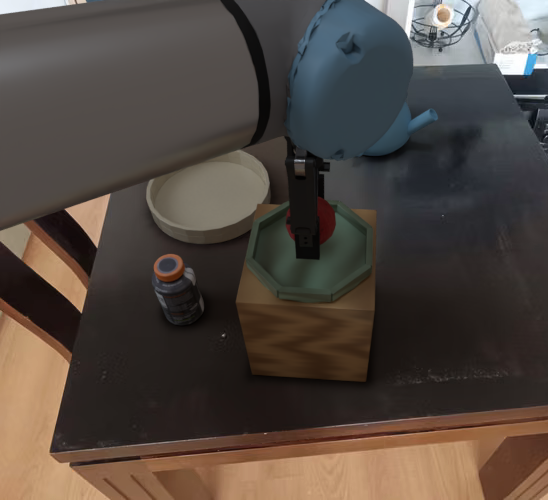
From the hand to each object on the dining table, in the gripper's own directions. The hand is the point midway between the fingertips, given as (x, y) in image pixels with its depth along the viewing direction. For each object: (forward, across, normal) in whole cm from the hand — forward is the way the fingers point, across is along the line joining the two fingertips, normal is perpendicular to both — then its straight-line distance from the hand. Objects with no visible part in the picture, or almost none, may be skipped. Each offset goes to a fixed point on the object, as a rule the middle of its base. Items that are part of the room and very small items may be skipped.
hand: (310, 235), depth 64 cm
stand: (+21, 0, 0) cm, 21 cm away
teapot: (+21, +45, -10) cm, 51 cm away
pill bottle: (+21, +2, +20) cm, 29 cm away
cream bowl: (+21, +26, +21) cm, 40 cm away
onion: (+2, 0, 0) cm, 2 cm away
